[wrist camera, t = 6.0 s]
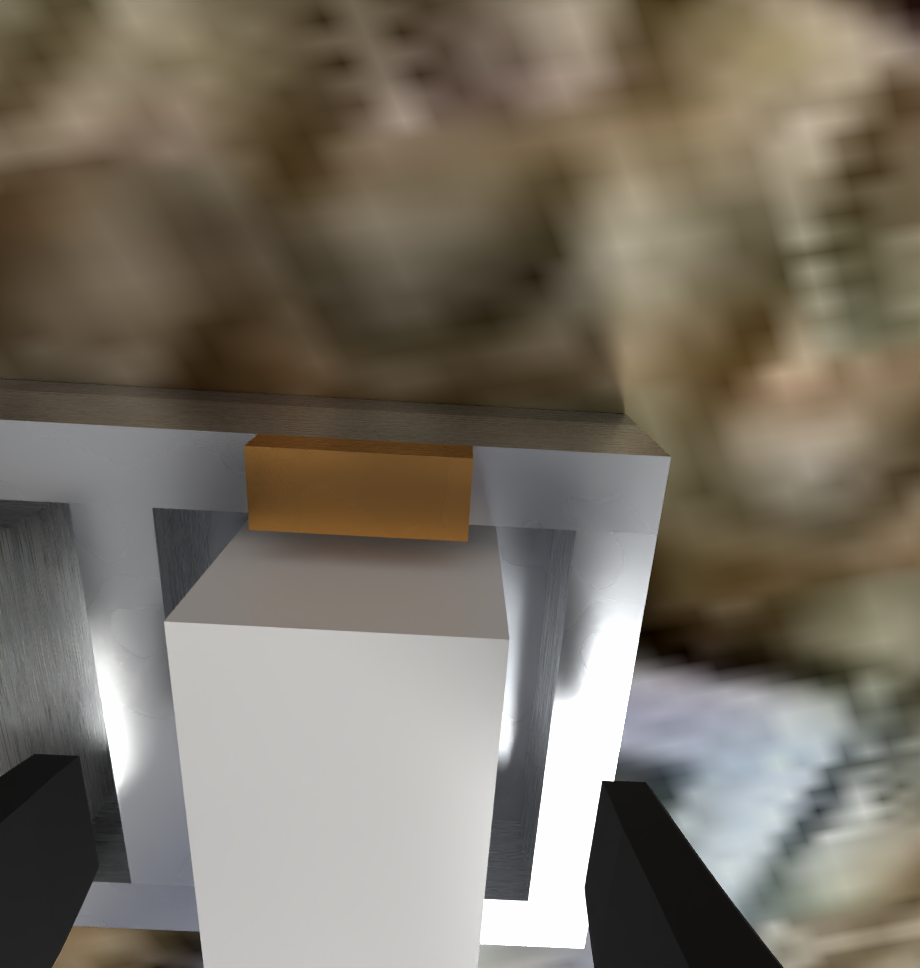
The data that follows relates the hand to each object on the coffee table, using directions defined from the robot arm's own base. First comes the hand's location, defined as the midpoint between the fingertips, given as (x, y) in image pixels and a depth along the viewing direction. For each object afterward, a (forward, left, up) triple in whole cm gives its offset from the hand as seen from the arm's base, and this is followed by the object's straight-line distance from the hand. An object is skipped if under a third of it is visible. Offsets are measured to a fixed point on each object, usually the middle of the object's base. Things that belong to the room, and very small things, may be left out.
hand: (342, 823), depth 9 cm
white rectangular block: (0, 0, -4) cm, 4 cm away
